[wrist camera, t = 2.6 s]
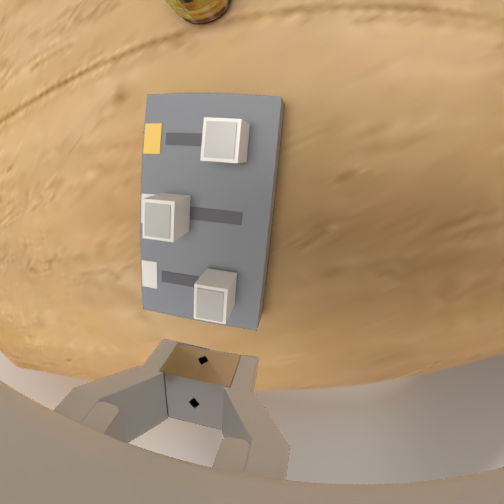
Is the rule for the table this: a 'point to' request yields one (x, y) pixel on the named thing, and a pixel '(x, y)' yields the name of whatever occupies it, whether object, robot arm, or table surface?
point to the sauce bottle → (199, 9)
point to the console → (210, 201)
